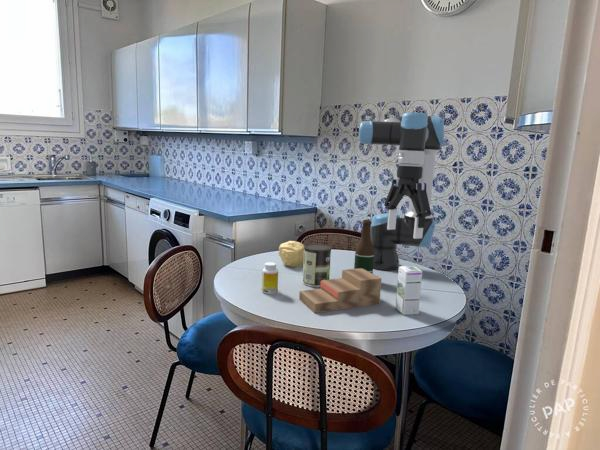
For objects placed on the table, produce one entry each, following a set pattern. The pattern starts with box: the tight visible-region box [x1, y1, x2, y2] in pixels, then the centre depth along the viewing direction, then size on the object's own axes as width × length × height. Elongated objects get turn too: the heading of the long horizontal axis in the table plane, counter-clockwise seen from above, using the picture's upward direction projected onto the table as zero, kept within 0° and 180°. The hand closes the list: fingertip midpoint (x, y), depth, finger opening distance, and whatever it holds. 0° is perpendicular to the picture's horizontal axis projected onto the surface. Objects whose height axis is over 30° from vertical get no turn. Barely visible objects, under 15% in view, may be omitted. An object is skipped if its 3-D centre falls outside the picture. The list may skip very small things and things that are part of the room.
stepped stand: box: [298, 268, 382, 314], centre depth 139 cm, size 24×12×9 cm, turn 114°
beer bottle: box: [353, 219, 374, 274], centre depth 161 cm, size 8×8×24 cm
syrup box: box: [395, 265, 423, 316], centre depth 132 cm, size 6×6×14 cm
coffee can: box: [302, 243, 332, 288], centre depth 156 cm, size 10×10×14 cm
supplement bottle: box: [261, 261, 279, 295], centre depth 145 cm, size 6×6×10 cm
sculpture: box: [278, 240, 305, 268], centre depth 179 cm, size 11×12×11 cm
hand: (403, 233), depth 130 cm, fingers open, 13 cm apart
